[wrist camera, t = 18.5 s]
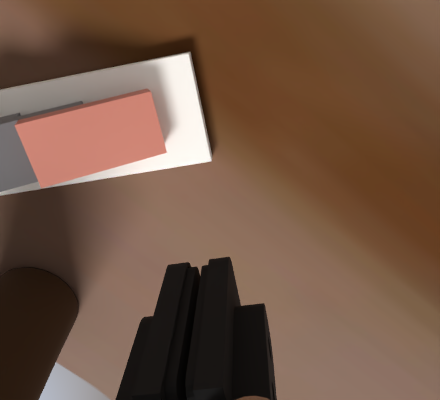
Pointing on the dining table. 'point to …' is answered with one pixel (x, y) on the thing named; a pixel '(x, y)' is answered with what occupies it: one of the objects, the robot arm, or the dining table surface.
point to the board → (121, 84)
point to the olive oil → (32, 329)
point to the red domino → (91, 137)
